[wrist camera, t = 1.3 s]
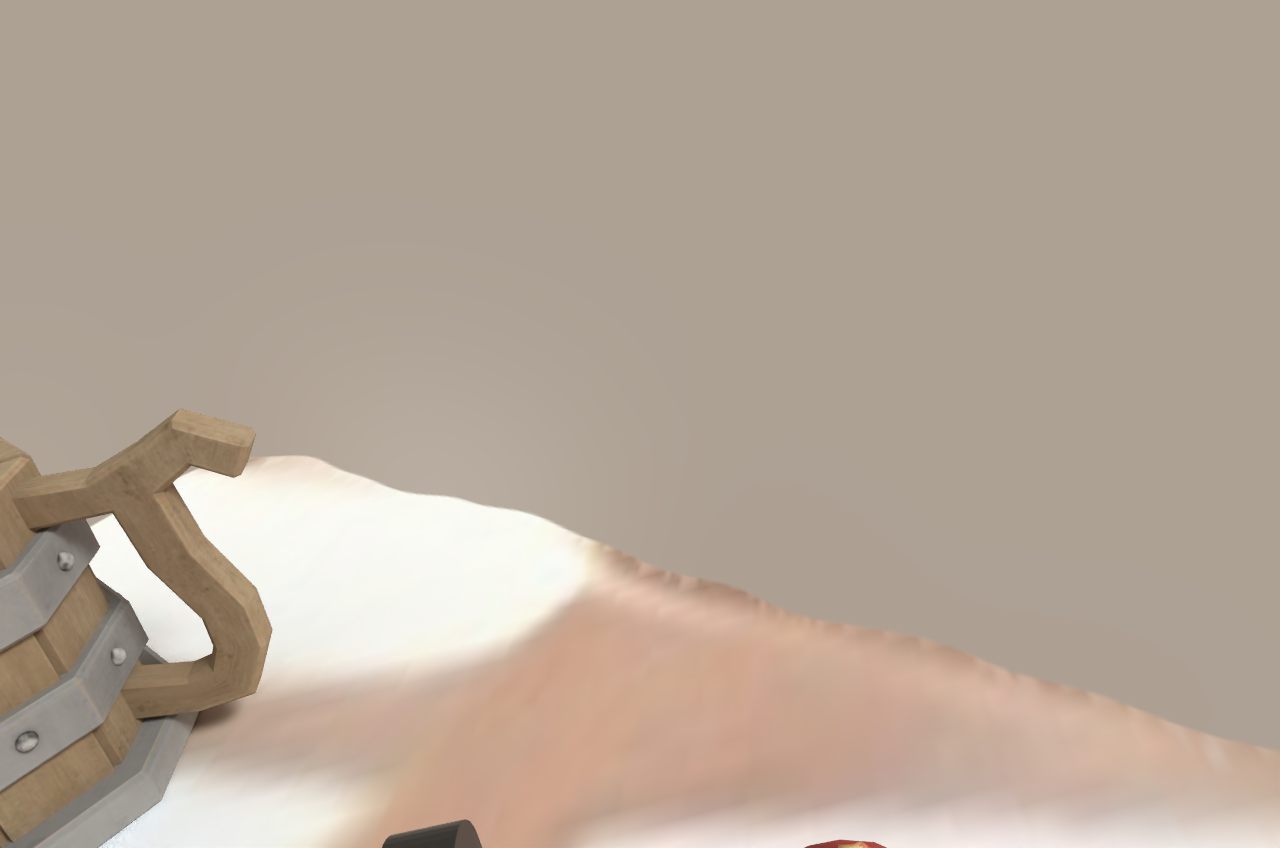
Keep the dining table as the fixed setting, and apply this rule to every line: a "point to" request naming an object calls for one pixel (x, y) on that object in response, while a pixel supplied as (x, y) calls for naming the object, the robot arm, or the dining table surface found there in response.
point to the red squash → (846, 844)
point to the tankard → (110, 634)
